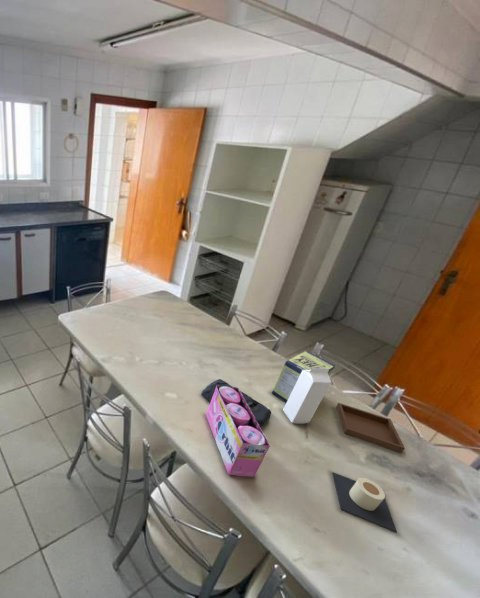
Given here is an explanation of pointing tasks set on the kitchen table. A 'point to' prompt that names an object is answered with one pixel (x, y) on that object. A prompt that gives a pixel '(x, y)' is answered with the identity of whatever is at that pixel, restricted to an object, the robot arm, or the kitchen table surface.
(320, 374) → the milk
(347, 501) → the mat
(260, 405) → the black pouch
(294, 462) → the kitchen table surface
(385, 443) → the tray
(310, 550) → the kitchen table surface
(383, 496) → the masking tape
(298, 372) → the protein box
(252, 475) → the gum box
